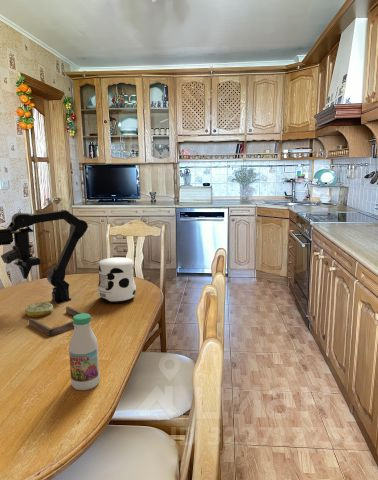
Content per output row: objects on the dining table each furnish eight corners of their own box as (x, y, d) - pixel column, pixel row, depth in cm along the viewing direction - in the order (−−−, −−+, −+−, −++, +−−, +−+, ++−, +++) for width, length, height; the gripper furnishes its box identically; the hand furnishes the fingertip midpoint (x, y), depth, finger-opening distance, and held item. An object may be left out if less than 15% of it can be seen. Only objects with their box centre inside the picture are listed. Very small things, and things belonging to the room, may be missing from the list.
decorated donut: (58, 313, 153) (57, 304, 152) (32, 321, 145) (32, 312, 144) (46, 307, 160) (45, 298, 159) (21, 314, 152) (20, 305, 151)
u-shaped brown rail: (68, 311, 154) (68, 306, 153) (90, 321, 143) (90, 315, 143) (29, 324, 141) (28, 318, 140) (50, 336, 131) (49, 330, 130)
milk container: (138, 292, 178) (136, 256, 175) (133, 305, 161) (132, 266, 158) (102, 292, 177) (100, 257, 174) (94, 305, 160) (92, 266, 157)
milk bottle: (74, 376, 105) (70, 311, 102) (101, 374, 106) (98, 310, 102) (68, 392, 98) (63, 322, 94) (97, 390, 98) (93, 321, 95)
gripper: (-7, 243, 154) (-4, 278, 157) (12, 249, 142) (16, 287, 145) (19, 239, 162) (22, 273, 165) (40, 244, 150) (42, 281, 153)
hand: (25, 278), depth 157 cm, fingers closed
